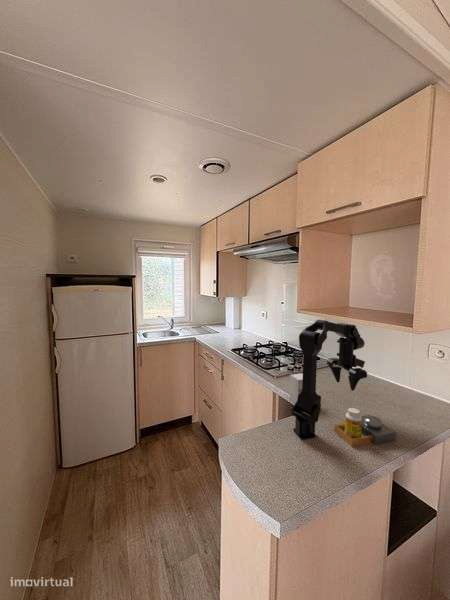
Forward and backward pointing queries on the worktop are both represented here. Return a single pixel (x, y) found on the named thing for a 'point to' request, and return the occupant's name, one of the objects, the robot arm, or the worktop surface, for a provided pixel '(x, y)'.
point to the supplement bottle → (353, 423)
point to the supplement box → (295, 386)
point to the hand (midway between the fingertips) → (345, 386)
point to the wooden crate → (368, 432)
